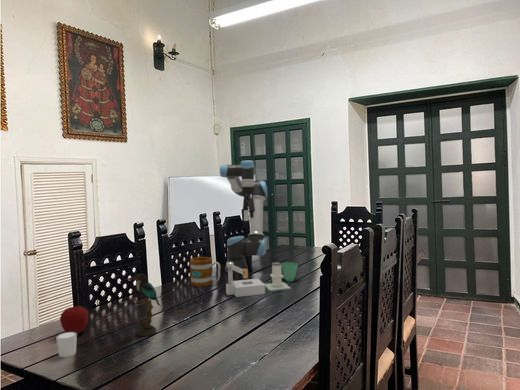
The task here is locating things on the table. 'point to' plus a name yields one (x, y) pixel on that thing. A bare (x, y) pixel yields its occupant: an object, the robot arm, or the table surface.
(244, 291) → the socket
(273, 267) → the plug
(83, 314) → the apple
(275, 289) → the mat
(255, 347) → the table surface
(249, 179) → the robot arm
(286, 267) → the mug
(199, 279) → the mug
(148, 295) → the sculpture
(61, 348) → the shot glass
